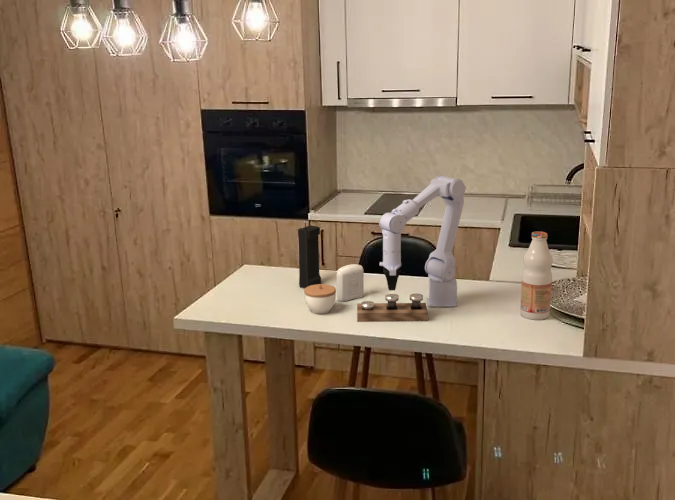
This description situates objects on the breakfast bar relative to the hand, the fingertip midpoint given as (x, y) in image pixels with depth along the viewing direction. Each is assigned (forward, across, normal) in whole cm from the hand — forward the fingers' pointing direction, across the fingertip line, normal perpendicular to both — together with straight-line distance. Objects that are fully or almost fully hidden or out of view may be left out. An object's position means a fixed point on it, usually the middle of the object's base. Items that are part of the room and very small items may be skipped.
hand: (391, 289), depth 238 cm
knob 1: (+9, 0, -8) cm, 12 cm away
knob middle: (+7, 0, 0) cm, 7 cm away
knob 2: (+7, 0, +8) cm, 10 cm away
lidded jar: (+10, -6, -24) cm, 27 cm away
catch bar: (+9, 0, 0) cm, 9 cm away
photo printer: (+10, -18, -14) cm, 25 cm away
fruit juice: (+10, 0, +47) cm, 48 cm away
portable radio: (+10, -32, -29) cm, 44 cm away
